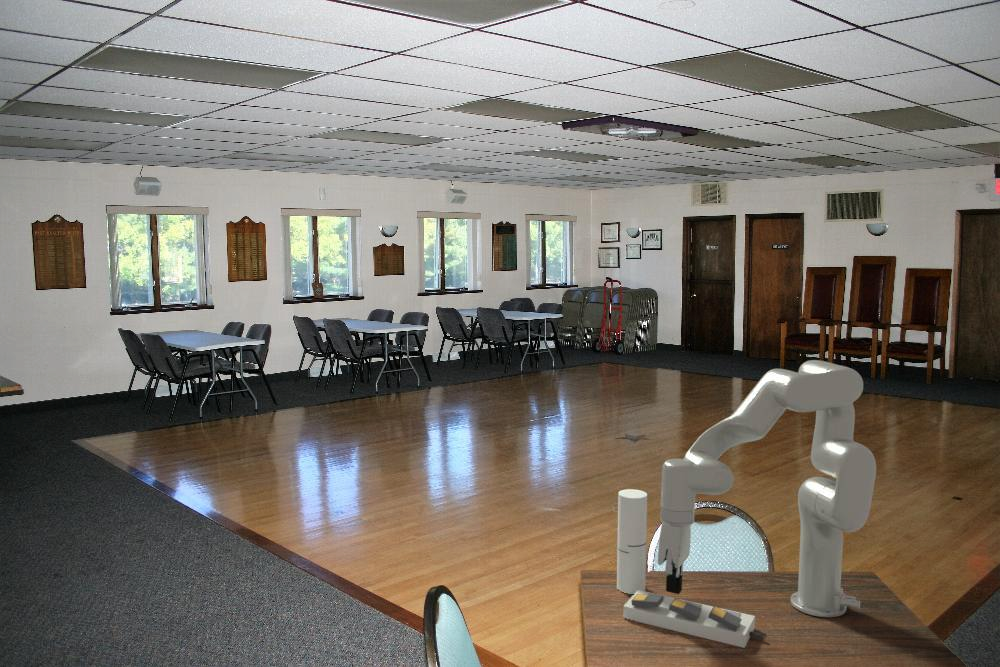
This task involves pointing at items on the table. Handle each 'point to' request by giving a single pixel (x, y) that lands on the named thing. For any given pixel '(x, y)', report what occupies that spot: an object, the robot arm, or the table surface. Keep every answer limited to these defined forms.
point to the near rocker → (724, 618)
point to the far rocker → (647, 600)
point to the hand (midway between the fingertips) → (673, 591)
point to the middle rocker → (685, 609)
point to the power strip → (692, 621)
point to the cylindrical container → (631, 540)
